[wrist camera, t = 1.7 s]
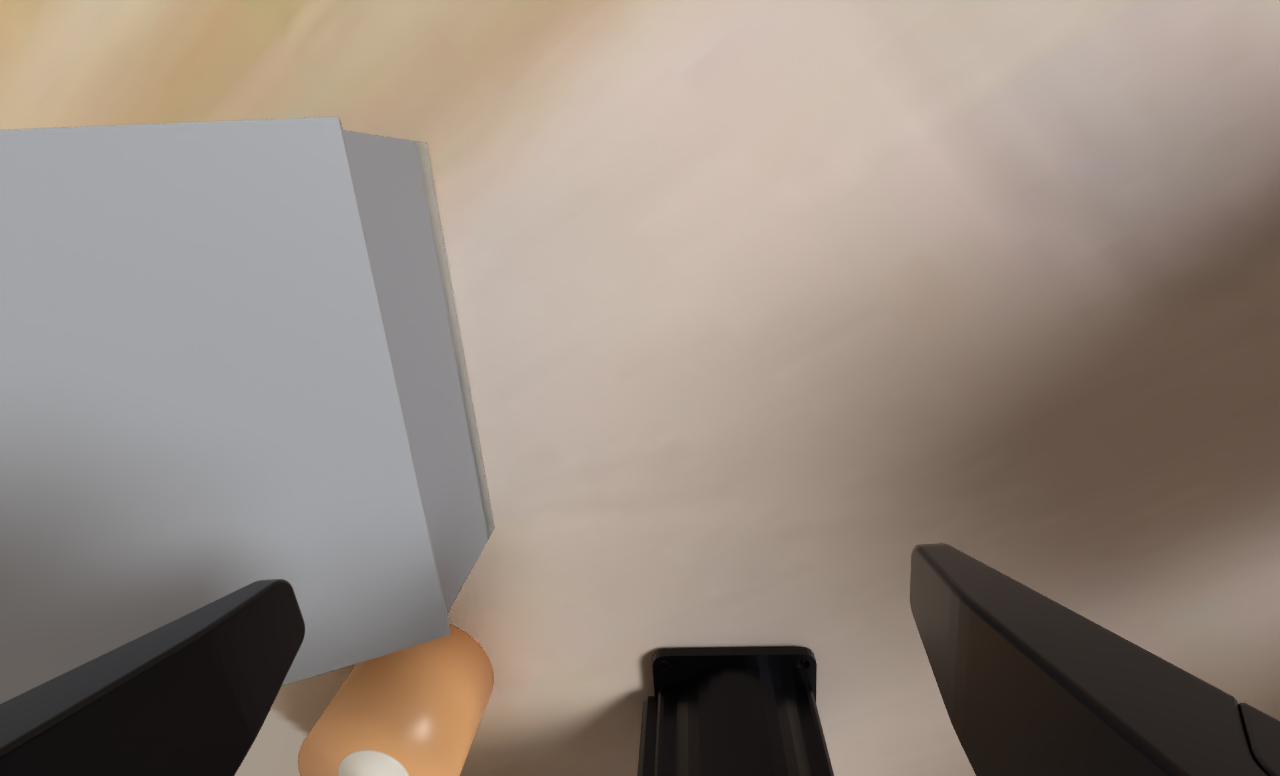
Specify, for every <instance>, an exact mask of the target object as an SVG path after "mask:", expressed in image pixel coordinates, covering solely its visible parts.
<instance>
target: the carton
mask: <svg viewBox="0 0 1280 776" xmlns="http://www.w3.org/2000/svg"><path fill="white" fill-rule="evenodd" d="M343 133H344V138H345V142H346V147H347V152H348V156H349V161H350V166H351V170H352V175H353V179H354V184H355V189H356V193H357V198H358V203H359V207H360V212H361V216H362V221H363V226H364V230H365V235H366V240H367V244H368V249H369V254H370V258H371V263H372V267H373V272H374V277H375V281H376V286H377V291H378V295H379V300H380V304H381V309H382V314H383V318H384V323H385V328H386V332H387V337H388V342H389V346H390V351H391V355H392V360H393V365H394V369H395V374H396V379H397V383H398V388H399V393H400V397H401V402H402V406H403V411H404V416H405V420H406V425H407V430H408V434H409V439H410V443H411V448H412V453H413V457H414V462H415V467H416V471H417V476H418V481H419V485H420V490H421V494H422V499H423V504H424V508H425V513H426V518H427V522H428V527H429V531H430V536H431V541H432V545H433V550H434V555H435V559H436V564H437V569H438V573H439V578H440V582H441V587H442V592H443V596H444V601H445V606H446V610H447V613H448V611H449V610H450V608H451V606H452V604H453V602H454V601H455V599H456V597H457V595H458V593H459V591H460V590H461V588H462V586H463V584H464V582H465V581H466V579H467V577H468V575H469V573H470V572H471V570H472V568H473V566H474V564H475V562H476V561H477V559H478V557H479V555H480V553H481V552H482V550H483V548H484V546H485V544H486V543H487V541H488V539H489V537H490V535H491V533H492V532H493V530H494V528H495V527H494V522H493V516H492V510H491V505H490V499H489V494H488V488H487V482H486V477H485V471H484V465H483V460H482V454H481V448H480V443H479V437H478V431H477V426H476V420H475V414H474V409H473V403H472V398H471V392H470V386H469V381H468V375H467V369H466V364H465V358H464V352H463V347H462V341H461V335H460V330H459V324H458V318H457V313H456V307H455V302H454V296H453V290H452V285H451V279H450V273H449V268H448V262H447V256H446V251H445V245H444V239H443V234H442V228H441V222H440V217H439V211H438V205H437V200H436V194H435V189H434V183H433V177H432V172H431V166H430V160H429V155H428V149H427V143H423V142H417V141H410V140H404V139H397V138H391V137H384V136H378V135H371V134H365V133H358V132H352V131H345V130H343Z"/></svg>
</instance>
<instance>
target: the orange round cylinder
mask: <svg viewBox="0 0 1280 776" xmlns="http://www.w3.org/2000/svg"><path fill="white" fill-rule="evenodd" d="M449 628H450V635H449V636H446V637H442V638H439V639H436V640H432V641H429V642H426V643H422V644H419V645H416V646H413V647H409V648H406V649H403V650H399V651H396V652H393V653H389V654H386V655H383V656H380V657H376V658H373V659H370V660H366V661H363V662H360V663H357V664H356V665H355V667H354V668H353V670H352V671H351V673H350V674H349V675H348V677H347V678H346V680H345V681H344V683H343V684H342V686H341V687H340V689H339V690H338V692H337V693H336V695H335V696H334V697H333V699H332V700H331V702H330V703H329V705H328V706H327V708H326V709H325V711H324V712H323V714H322V715H321V716H320V718H319V719H318V721H317V722H316V724H315V725H314V727H313V728H312V730H311V731H310V733H309V734H308V735H307V737H306V738H305V740H304V741H303V743H302V746H301V748H300V751H299V755H298V769H299V773H300V776H460V774H461V771H462V768H463V766H464V763H465V760H466V758H467V755H468V753H469V750H470V747H471V745H472V742H473V739H474V737H475V734H476V731H477V729H478V726H479V724H480V721H481V718H482V716H483V713H484V710H485V708H486V705H487V703H488V700H489V697H490V695H491V692H492V689H493V683H494V675H493V669H492V665H491V663H490V660H489V658H488V656H487V655H486V653H485V651H484V650H483V649H482V647H481V646H480V645H479V644H478V643H477V642H476V641H475V640H474V639H473V638H472V637H471V636H469V635H468V634H467V633H465V632H464V631H462V630H461V629H459V628H457V627H455V626H453V625H451V624H449Z"/></svg>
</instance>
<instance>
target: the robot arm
mask: <svg viewBox="0 0 1280 776" xmlns="http://www.w3.org/2000/svg"><path fill="white" fill-rule="evenodd" d="M910 604H911V609H912V613H913V617H914V619H915V622H916V625H917V628H918V631H919V634H920V636H921V639H922V642H923V645H924V648H925V650H926V653H927V656H928V659H929V662H930V665H931V667H932V670H933V673H934V676H935V679H936V682H937V684H938V687H939V690H940V693H941V696H942V698H943V701H944V704H945V707H946V709H947V712H948V715H949V717H950V720H951V723H952V725H953V727H954V729H955V732H956V734H957V736H958V738H959V740H960V743H961V745H962V747H963V749H964V751H965V753H966V755H967V757H968V759H969V761H970V763H971V766H972V768H973V770H974V772H975V774H976V776H1280V721H1278V720H1276V719H1274V718H1273V717H1271V716H1269V715H1267V714H1265V713H1263V712H1261V711H1259V710H1258V709H1256V708H1254V707H1252V706H1250V705H1248V704H1246V703H1239V704H1238V703H1237V700H1236V699H1235V698H1234V697H1233V696H1231V695H1229V694H1227V693H1225V692H1223V691H1222V690H1220V689H1218V688H1216V687H1214V686H1212V685H1210V684H1208V683H1207V682H1205V681H1203V680H1201V679H1199V678H1197V677H1195V676H1193V675H1192V674H1190V673H1188V672H1186V671H1184V670H1182V669H1180V668H1178V667H1177V666H1175V665H1173V664H1171V663H1169V662H1167V661H1165V660H1163V659H1162V658H1160V657H1158V656H1156V655H1154V654H1152V653H1150V652H1148V651H1147V650H1145V649H1143V648H1141V647H1139V646H1137V645H1135V644H1133V643H1132V642H1130V641H1128V640H1126V639H1124V638H1122V637H1120V636H1118V635H1117V634H1115V633H1113V632H1111V631H1109V630H1107V629H1105V628H1103V627H1102V626H1100V625H1098V624H1096V623H1094V622H1092V621H1090V620H1088V619H1087V618H1085V617H1083V616H1081V615H1079V614H1077V613H1075V612H1073V611H1072V610H1070V609H1068V608H1066V607H1064V606H1062V605H1060V604H1058V603H1057V602H1055V601H1053V600H1051V599H1049V598H1047V597H1045V596H1043V595H1042V594H1040V593H1038V592H1036V591H1034V590H1032V589H1030V588H1028V587H1027V586H1025V585H1023V584H1021V583H1019V582H1017V581H1015V580H1013V579H1012V578H1010V577H1008V576H1006V575H1004V574H1002V573H1000V572H998V571H997V570H995V569H993V568H991V567H989V566H987V565H985V564H983V563H982V562H980V561H978V560H976V559H974V558H972V557H970V556H968V555H967V554H965V553H963V552H961V551H959V550H957V549H955V548H953V547H952V546H950V545H947V544H942V543H941V544H924V545H917V546H915V547H914V548H913V551H912V555H911V578H910ZM304 636H305V622H304V619H303V616H302V613H301V610H300V607H299V604H298V601H297V599H296V596H295V593H294V590H293V587H292V585H291V584H290V583H289V582H288V581H287V580H284V579H269V580H259V581H255V582H253V583H251V584H249V585H247V586H245V587H242V588H240V589H238V590H236V591H234V592H232V593H230V594H228V595H226V596H224V597H222V598H220V599H218V600H215V601H213V602H211V603H209V604H207V605H205V606H203V607H201V608H199V609H197V610H195V611H193V612H190V613H188V614H186V615H184V616H182V617H180V618H178V619H176V620H174V621H172V622H170V623H168V624H166V625H163V626H161V627H159V628H157V629H155V630H153V631H151V632H149V633H147V634H145V635H143V636H141V637H138V638H136V639H134V640H132V641H130V642H128V643H126V644H124V645H122V646H120V647H118V648H116V649H113V650H111V651H109V652H107V653H105V654H103V655H101V656H99V657H97V658H95V659H93V660H91V661H89V662H86V663H84V664H82V665H80V666H78V667H76V668H74V669H72V670H70V671H68V672H66V673H64V674H61V675H59V676H57V677H55V678H53V679H51V680H49V681H47V682H45V683H43V684H41V685H39V686H37V687H34V688H32V689H30V690H28V691H26V692H24V693H22V694H20V695H18V696H16V697H14V698H12V699H9V700H7V701H5V702H3V703H1V704H0V776H234V775H235V773H236V772H237V770H238V768H239V767H240V765H241V763H242V762H243V760H244V758H245V756H246V755H247V753H248V751H249V749H250V748H251V746H252V744H253V742H254V740H255V738H256V737H257V735H258V733H259V731H260V729H261V727H262V725H263V723H264V721H265V719H266V717H267V715H268V712H269V711H270V708H271V706H272V704H273V702H274V700H275V698H276V696H277V694H278V692H279V690H280V688H281V686H282V684H283V682H284V680H285V678H286V675H287V673H288V671H289V669H290V667H291V665H292V663H293V661H294V659H295V657H296V655H297V653H298V651H299V649H300V647H301V645H302V642H303V640H304ZM802 659H805V660H806V661H805V662H798V661H800V660H802ZM662 661H667V662H669V663H667V664H663V663H661V662H662ZM652 667H653V678H654V689H655V696H648V697H647V698H646V699H645V700H644V702H643V712H642V725H641V737H640V750H639V762H638V775H637V776H834V773H833V770H832V766H831V762H830V758H829V754H828V750H827V746H826V742H825V738H824V734H823V730H822V726H821V722H820V718H819V714H818V710H817V706H816V660H815V657H814V653H813V652H812V651H811V650H810V649H808V648H806V647H763V648H693V649H661V650H658V651H657V652H655V654H654V655H653V665H652Z"/></svg>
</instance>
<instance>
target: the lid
mask: <svg viewBox="0 0 1280 776" xmlns="http://www.w3.org/2000/svg"><path fill="white" fill-rule="evenodd" d="M269 579H284V580H287V581H288V582H289V583H290V584H291V585H292V587H293V590H294V593H295V596H296V599H297V601H298V604H299V607H300V610H301V613H302V616H303V619H304V622H305V636H304V640H303V642H302V645H301V647H300V649H299V651H298V653H297V655H296V657H295V659H294V661H293V663H292V665H291V667H290V669H289V671H288V673H287V675H286V678H285V680H284V682H283V684H282V686H284V685H287V684H290V683H294V682H297V681H300V680H304V679H307V678H310V677H314V676H317V675H320V674H323V673H327V672H330V671H333V670H337V669H340V668H343V667H347V666H350V665H353V664H356V663H360V662H363V661H366V660H370V659H373V658H376V657H380V656H383V655H386V654H389V653H393V652H396V651H399V650H403V649H406V648H409V647H413V646H416V645H419V644H422V643H426V642H429V641H432V640H436V639H439V638H442V637H446V636H449V635H450V628H449V620H448V615H447V610H446V606H445V601H444V596H443V592H442V587H441V582H440V578H439V573H438V569H437V564H436V559H435V555H434V550H433V545H432V541H431V536H430V531H429V527H428V522H427V518H426V513H425V508H424V504H423V499H422V494H421V490H420V485H419V481H418V476H417V471H416V467H415V462H414V457H413V453H412V448H411V443H410V439H409V434H408V430H407V425H406V420H405V416H404V411H403V406H402V402H401V397H400V393H399V388H398V383H397V379H396V374H395V369H394V365H393V360H392V355H391V351H390V346H389V342H388V337H387V332H386V328H385V323H384V318H383V314H382V309H381V304H380V300H379V295H378V291H377V286H376V281H375V277H374V272H373V267H372V263H371V258H370V254H369V249H368V244H367V240H366V235H365V230H364V226H363V221H362V216H361V212H360V207H359V203H358V198H357V193H356V189H355V184H354V179H353V175H352V170H351V166H350V161H349V156H348V152H347V147H346V142H345V138H344V133H343V128H342V124H341V121H340V119H339V117H318V118H292V119H266V120H240V121H215V122H189V123H163V124H137V125H112V126H86V127H60V128H34V129H8V130H0V704H1V703H3V702H5V701H7V700H9V699H12V698H14V697H16V696H18V695H20V694H22V693H24V692H26V691H28V690H30V689H32V688H34V687H37V686H39V685H41V684H43V683H45V682H47V681H49V680H51V679H53V678H55V677H57V676H59V675H61V674H64V673H66V672H68V671H70V670H72V669H74V668H76V667H78V666H80V665H82V664H84V663H86V662H89V661H91V660H93V659H95V658H97V657H99V656H101V655H103V654H105V653H107V652H109V651H111V650H113V649H116V648H118V647H120V646H122V645H124V644H126V643H128V642H130V641H132V640H134V639H136V638H138V637H141V636H143V635H145V634H147V633H149V632H151V631H153V630H155V629H157V628H159V627H161V626H163V625H166V624H168V623H170V622H172V621H174V620H176V619H178V618H180V617H182V616H184V615H186V614H188V613H190V612H193V611H195V610H197V609H199V608H201V607H203V606H205V605H207V604H209V603H211V602H213V601H215V600H218V599H220V598H222V597H224V596H226V595H228V594H230V593H232V592H234V591H236V590H238V589H240V588H242V587H245V586H247V585H249V584H251V583H253V582H255V581H259V580H269Z"/></svg>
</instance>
